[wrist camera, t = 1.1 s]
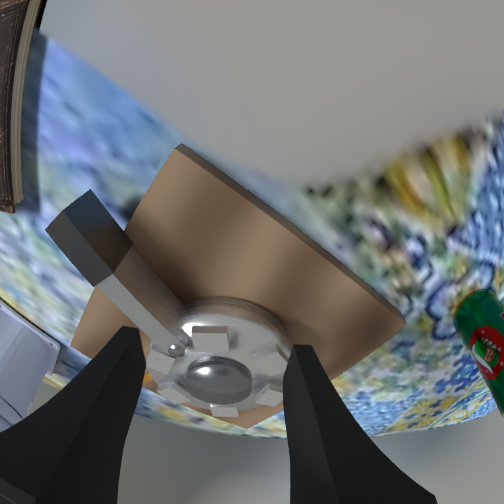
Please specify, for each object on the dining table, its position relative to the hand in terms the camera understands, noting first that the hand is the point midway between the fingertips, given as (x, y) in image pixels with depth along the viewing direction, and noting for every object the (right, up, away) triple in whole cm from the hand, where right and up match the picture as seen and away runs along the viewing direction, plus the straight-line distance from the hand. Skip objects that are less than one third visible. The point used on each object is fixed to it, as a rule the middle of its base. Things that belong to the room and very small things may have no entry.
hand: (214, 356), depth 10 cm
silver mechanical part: (-3, 0, +9) cm, 10 cm away
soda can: (+22, -1, +12) cm, 25 cm away
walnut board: (-1, -3, +12) cm, 13 cm away
